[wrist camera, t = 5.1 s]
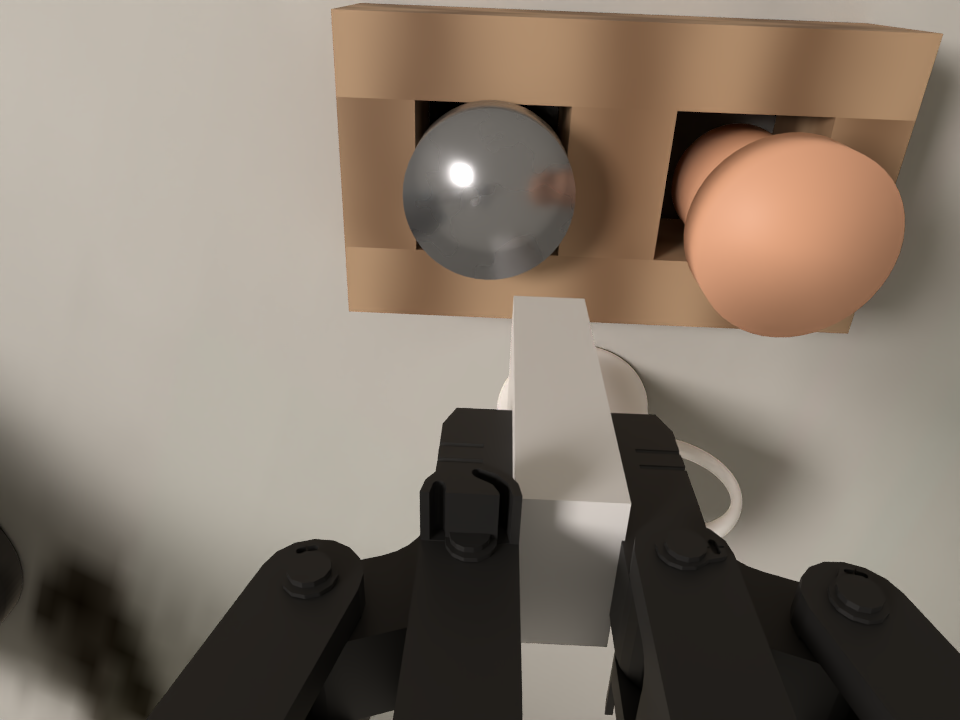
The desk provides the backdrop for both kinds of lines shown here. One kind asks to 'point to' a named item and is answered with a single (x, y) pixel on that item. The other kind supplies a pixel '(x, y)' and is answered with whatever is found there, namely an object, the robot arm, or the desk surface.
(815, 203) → the peach ball
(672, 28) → the block
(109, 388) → the desk surface
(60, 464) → the desk surface
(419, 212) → the ball grey
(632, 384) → the mug
